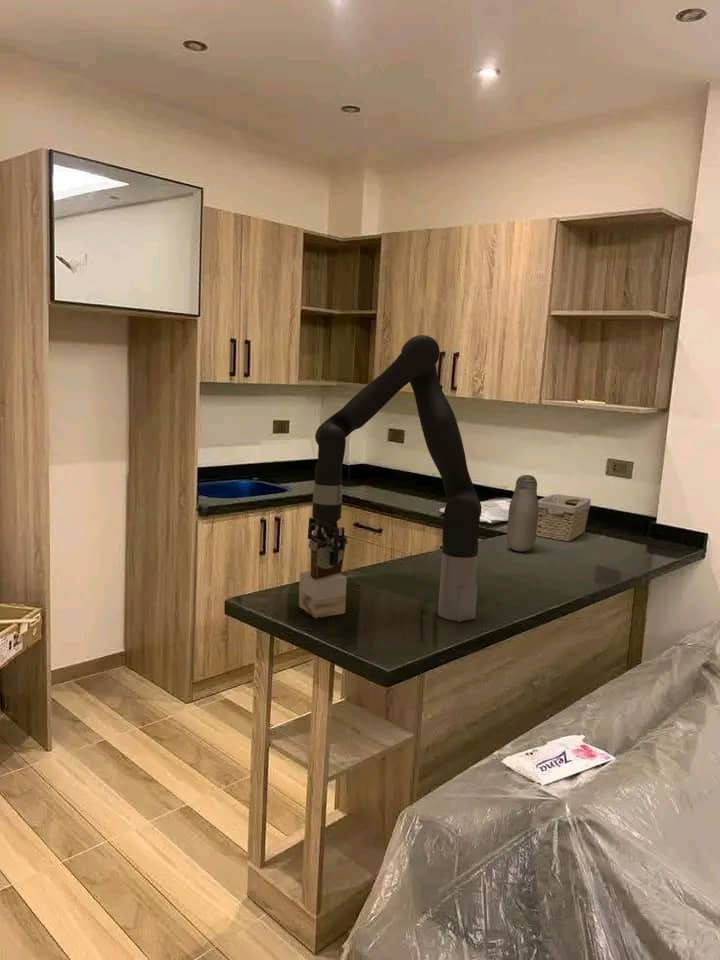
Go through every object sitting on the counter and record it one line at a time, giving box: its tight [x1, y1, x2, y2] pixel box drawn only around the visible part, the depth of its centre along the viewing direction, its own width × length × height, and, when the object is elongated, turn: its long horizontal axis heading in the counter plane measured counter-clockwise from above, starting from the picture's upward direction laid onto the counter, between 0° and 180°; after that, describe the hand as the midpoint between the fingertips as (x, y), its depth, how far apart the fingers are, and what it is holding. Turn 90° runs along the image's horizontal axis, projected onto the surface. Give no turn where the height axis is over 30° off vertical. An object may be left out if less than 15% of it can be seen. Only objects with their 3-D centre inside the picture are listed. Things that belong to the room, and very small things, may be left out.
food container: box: [307, 535, 349, 580], centre depth 194 cm, size 12×6×10 cm, turn 139°
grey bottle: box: [506, 474, 539, 553], centre depth 266 cm, size 10×10×28 cm
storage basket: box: [536, 493, 591, 542], centre depth 296 cm, size 24×16×15 cm
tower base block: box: [298, 590, 347, 619], centre depth 195 cm, size 9×9×5 cm
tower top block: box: [298, 570, 348, 601], centre depth 194 cm, size 9×9×5 cm
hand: (324, 561), depth 193 cm, fingers open, 8 cm apart
